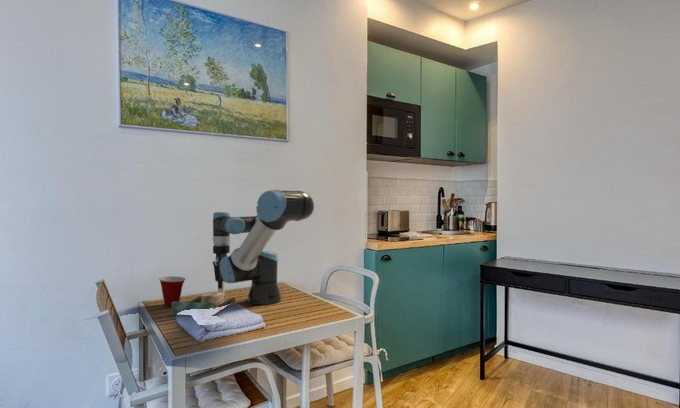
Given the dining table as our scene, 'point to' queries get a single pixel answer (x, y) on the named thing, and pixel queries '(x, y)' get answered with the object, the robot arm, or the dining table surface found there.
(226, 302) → the guide track
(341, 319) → the dining table surface
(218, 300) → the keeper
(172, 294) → the plastic cup
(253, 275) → the robot arm
